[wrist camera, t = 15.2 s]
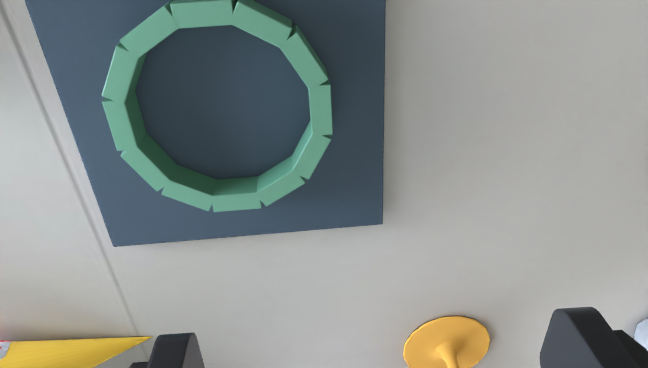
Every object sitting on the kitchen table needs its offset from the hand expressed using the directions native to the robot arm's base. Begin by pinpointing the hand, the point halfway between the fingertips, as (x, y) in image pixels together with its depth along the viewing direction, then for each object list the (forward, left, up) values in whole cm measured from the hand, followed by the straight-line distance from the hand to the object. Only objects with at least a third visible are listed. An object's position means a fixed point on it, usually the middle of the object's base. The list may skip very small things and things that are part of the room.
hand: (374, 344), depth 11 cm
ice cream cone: (+26, -27, -25) cm, 45 cm away
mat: (+3, -6, -25) cm, 26 cm away
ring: (+3, -7, -24) cm, 25 cm away
